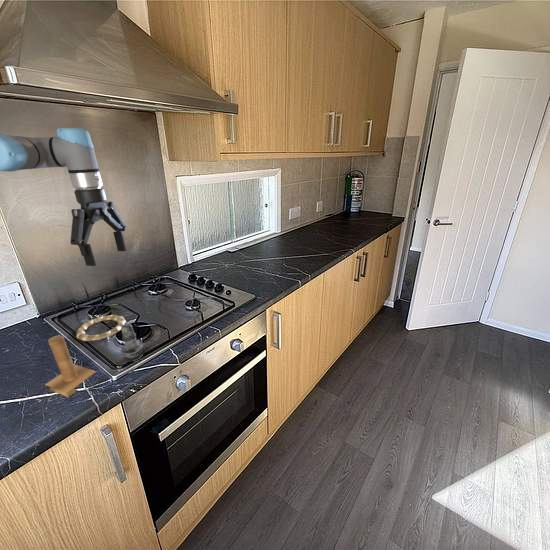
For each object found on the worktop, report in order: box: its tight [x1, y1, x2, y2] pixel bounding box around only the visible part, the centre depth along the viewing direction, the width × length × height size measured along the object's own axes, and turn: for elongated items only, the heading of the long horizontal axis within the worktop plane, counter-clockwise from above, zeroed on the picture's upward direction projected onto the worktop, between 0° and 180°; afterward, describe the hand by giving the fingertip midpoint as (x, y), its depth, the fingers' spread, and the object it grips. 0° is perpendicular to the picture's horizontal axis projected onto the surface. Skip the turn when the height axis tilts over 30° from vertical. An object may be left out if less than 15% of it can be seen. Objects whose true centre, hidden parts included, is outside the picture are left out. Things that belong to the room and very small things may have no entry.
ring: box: [75, 314, 127, 342], centre depth 97 cm, size 14×14×2 cm
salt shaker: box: [120, 321, 144, 362], centre depth 82 cm, size 6×6×12 cm
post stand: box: [44, 334, 97, 398], centre depth 73 cm, size 8×8×14 cm
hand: (107, 257), depth 92 cm, fingers open, 13 cm apart
